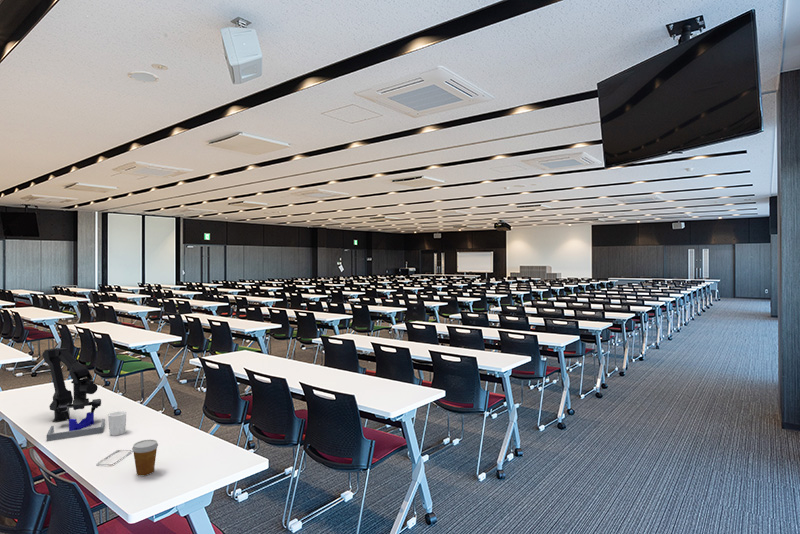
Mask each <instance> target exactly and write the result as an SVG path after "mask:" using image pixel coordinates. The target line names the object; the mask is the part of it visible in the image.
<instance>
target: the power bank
mask: <svg viewBox="0 0 800 534" xmlns="http://www.w3.org/2000/svg"><path fill="white" fill-rule="evenodd" d="M119 451H120V452H123V451H124V452H127V453H125V455H123V456H122V457H120V458H119V459H117V460H115V461H114V462H112V463H101V462H103V461H105V459H106V460H108V459H109V458H110V457H112V456H113V454H114V453H115V454H117V453H120V452H119ZM116 452H117V453H116ZM131 452H132V453H134V452H133V450H132V449H116V450H115V451H113V452H111V453H110V454H109V455H107V456H105V457H104V458H102V459H101V460H100V461H97V462H96V463H95V464H96V465H95V467H100V466H99V465H113V464H115V463H116V462H118V461H119V460H121V459H122V458H124V457H125V456H126V457H128V456H129V455H131V454H132V453H131ZM130 453H131V454H130ZM115 454H114V455H115ZM111 455H112V456H111ZM127 455H128V456H127ZM108 457H109V458H108ZM126 457H125V458H126ZM125 458H124V459H125ZM122 460H123V459H122ZM122 460H121V461H122ZM119 462H120V461H119ZM119 462H118V463H119ZM116 464H117V463H116ZM116 464H115V465H116ZM113 466H114V465H113Z"/></svg>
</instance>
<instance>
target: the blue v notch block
mask: <svg viewBox="0 0 800 534" xmlns="http://www.w3.org/2000/svg"><path fill="white" fill-rule="evenodd" d="M94 416H95V412H94V413H92V412H91V411H90V412H86V416H85V417H84V418H82V420H80V421H79V422H78V421H77V419H76V418H70V419H69V421H68V431H74V430H81V429H86V428H87V427H90V426H92V425H94V424H95V417H94Z"/></svg>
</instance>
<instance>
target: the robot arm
mask: <svg viewBox="0 0 800 534" xmlns="http://www.w3.org/2000/svg"><path fill="white" fill-rule="evenodd" d="M41 355H42V358H43V360H44V363H46V364H47V366H49V369H50V375H51V379H52V384H53V388H54V393H53V395H52V402H51V403H50V404H49V407H48V408H49V410H50V411H53V413H54V416H53V417H54V418H53V420H52V423H54V422H55V423H56V422H62V421H68V422H69V419H71V413H70V409H72V410H74V411H76V410H84V409H85V407H88V406H91V407H90V408H91V409H90V412H92V413H94V414H95V411H96V409H99V407H101V406H102V399H100V398H95V399H92V401H90V399H89V398H88V396H87V395H95V393H96V392H97V391H98V388H99V387H98V385H97V383H94V380H93V376H92V374H91V373H90V371H89V369H88V368H87V366H85V365H84V364H81V363H79V362H78V361H77V360H76V358H75V357H74V356H73V355H72V354H71V353H70V351H69V348H67V347H63V348H60V347H56V348H49V349H45V350H44V351H43V352H42V354H41ZM61 362H62V363H63V364H64V365H65V367H66V368H67V369H68V371H69V373H68V374H69V376H70V378H71V379H72V380H71V381H70V383H71V384H73V385H72V387H73V388H72V389H73V393H72V391H71V390H70V389H69V390H68V388H67V387H66V386H67V385H66V381H65V378H64V374H63V370H62V365H61Z"/></svg>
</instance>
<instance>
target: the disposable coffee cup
mask: <svg viewBox="0 0 800 534" xmlns="http://www.w3.org/2000/svg"><path fill="white" fill-rule="evenodd" d="M158 446H159V443H158V441H157V440H156V439H143V440H140V441H137V442H135V443H134V444H133V445H132V448H131V450H133V452H132V453H133V457H134V458H133V459H134V464H135V470H136V471H135V472H136V475H137V474H138V475H137V476H139V475H144V476H148V475H147V474H149V475H150V473H151V474H153V473H154V472H155V465H156V464H155V463H156V459H157V458H156V456H157V450H158ZM152 472H153V473H152Z"/></svg>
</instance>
